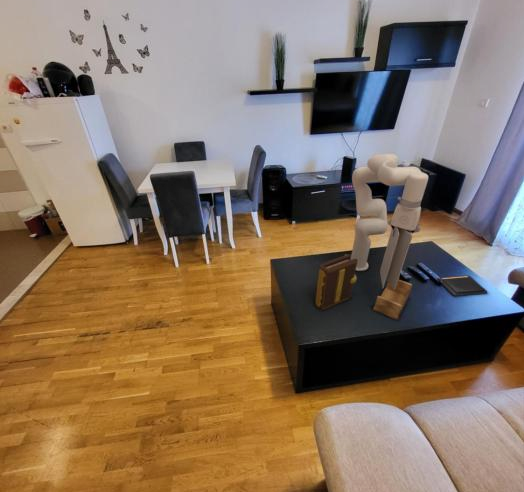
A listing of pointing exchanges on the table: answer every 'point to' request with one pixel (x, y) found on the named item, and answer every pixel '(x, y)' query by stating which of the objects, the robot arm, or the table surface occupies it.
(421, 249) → the table surface
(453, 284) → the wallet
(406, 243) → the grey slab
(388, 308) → the stand
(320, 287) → the book
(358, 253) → the robot arm
